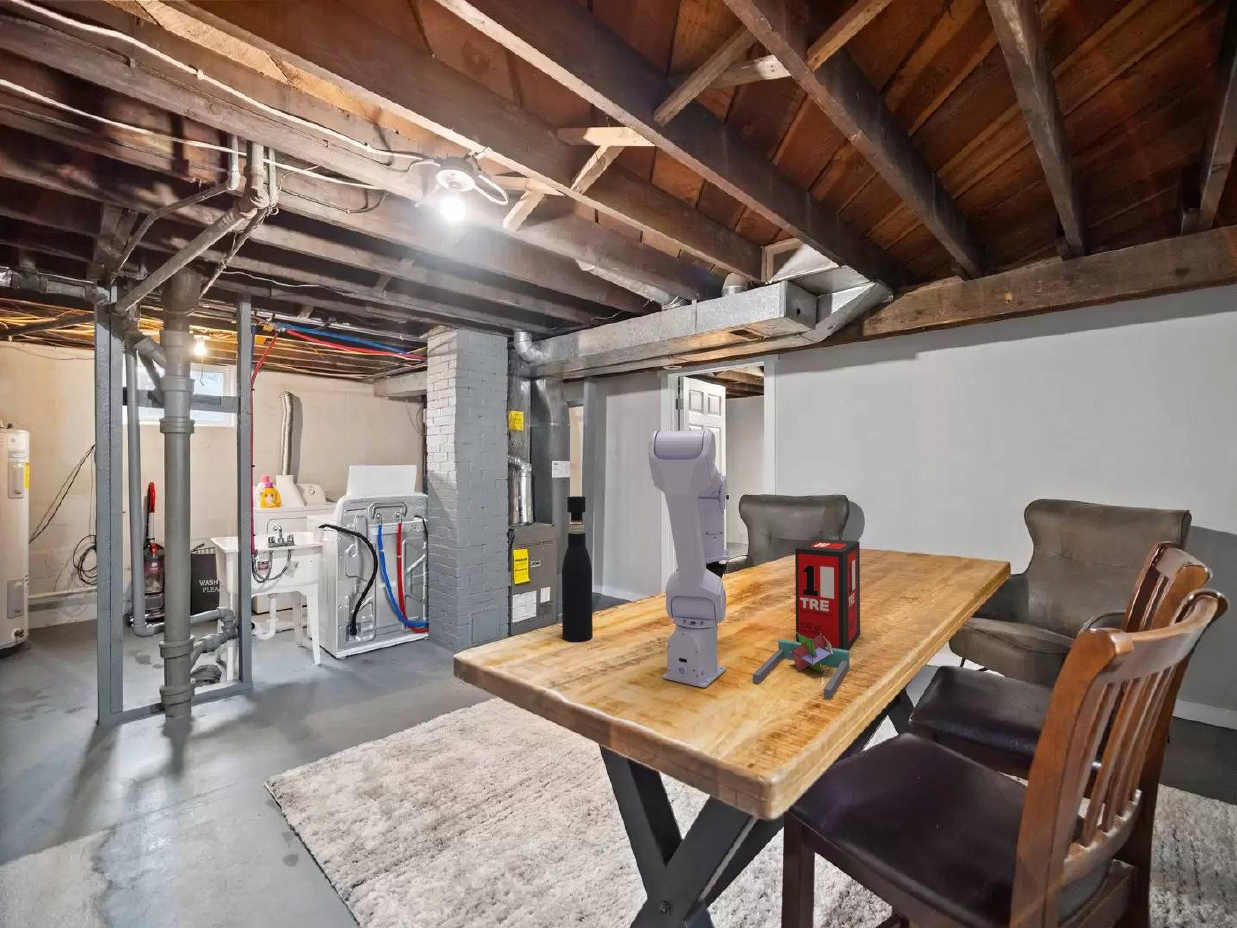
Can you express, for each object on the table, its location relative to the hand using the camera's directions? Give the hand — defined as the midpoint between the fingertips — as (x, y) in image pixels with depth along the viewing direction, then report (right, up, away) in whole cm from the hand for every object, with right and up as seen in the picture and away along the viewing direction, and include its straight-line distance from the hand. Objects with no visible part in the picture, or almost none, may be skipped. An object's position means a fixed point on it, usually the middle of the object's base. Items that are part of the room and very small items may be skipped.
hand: (710, 600), depth 110 cm
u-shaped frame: (+14, -9, -15) cm, 22 cm away
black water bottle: (-27, -10, +7) cm, 30 cm away
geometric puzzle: (+16, -10, -12) cm, 22 cm away
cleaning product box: (+25, -10, +3) cm, 27 cm away
